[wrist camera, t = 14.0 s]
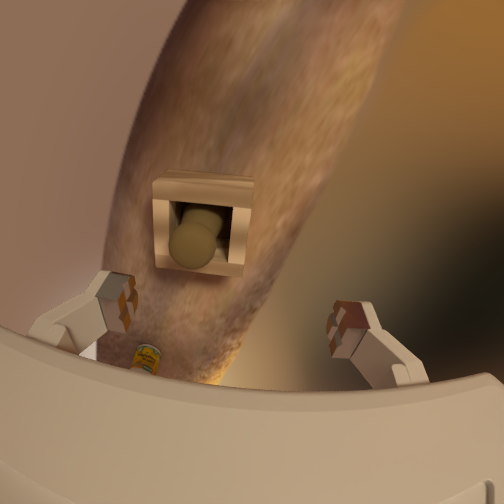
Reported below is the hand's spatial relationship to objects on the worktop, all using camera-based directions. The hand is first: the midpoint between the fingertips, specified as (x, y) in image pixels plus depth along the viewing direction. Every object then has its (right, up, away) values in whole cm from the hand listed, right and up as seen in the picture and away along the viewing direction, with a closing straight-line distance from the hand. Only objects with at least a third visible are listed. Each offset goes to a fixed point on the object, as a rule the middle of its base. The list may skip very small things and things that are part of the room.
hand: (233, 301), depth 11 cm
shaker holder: (-5, +7, +27) cm, 29 cm away
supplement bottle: (-21, -19, +43) cm, 51 cm away
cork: (-6, +7, +27) cm, 29 cm away
